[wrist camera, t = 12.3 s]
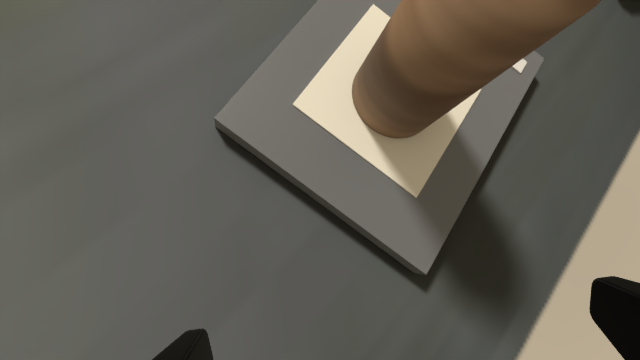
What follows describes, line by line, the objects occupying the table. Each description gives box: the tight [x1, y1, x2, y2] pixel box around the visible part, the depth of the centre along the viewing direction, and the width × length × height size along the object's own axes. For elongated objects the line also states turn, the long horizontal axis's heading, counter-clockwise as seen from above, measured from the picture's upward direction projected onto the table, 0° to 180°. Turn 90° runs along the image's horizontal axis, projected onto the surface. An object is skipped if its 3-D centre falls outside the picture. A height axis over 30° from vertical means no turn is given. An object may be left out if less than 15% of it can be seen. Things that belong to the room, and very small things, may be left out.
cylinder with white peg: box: [352, 0, 601, 138], centre depth 13 cm, size 5×5×13 cm
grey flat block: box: [214, 0, 544, 275], centre depth 21 cm, size 16×13×1 cm
